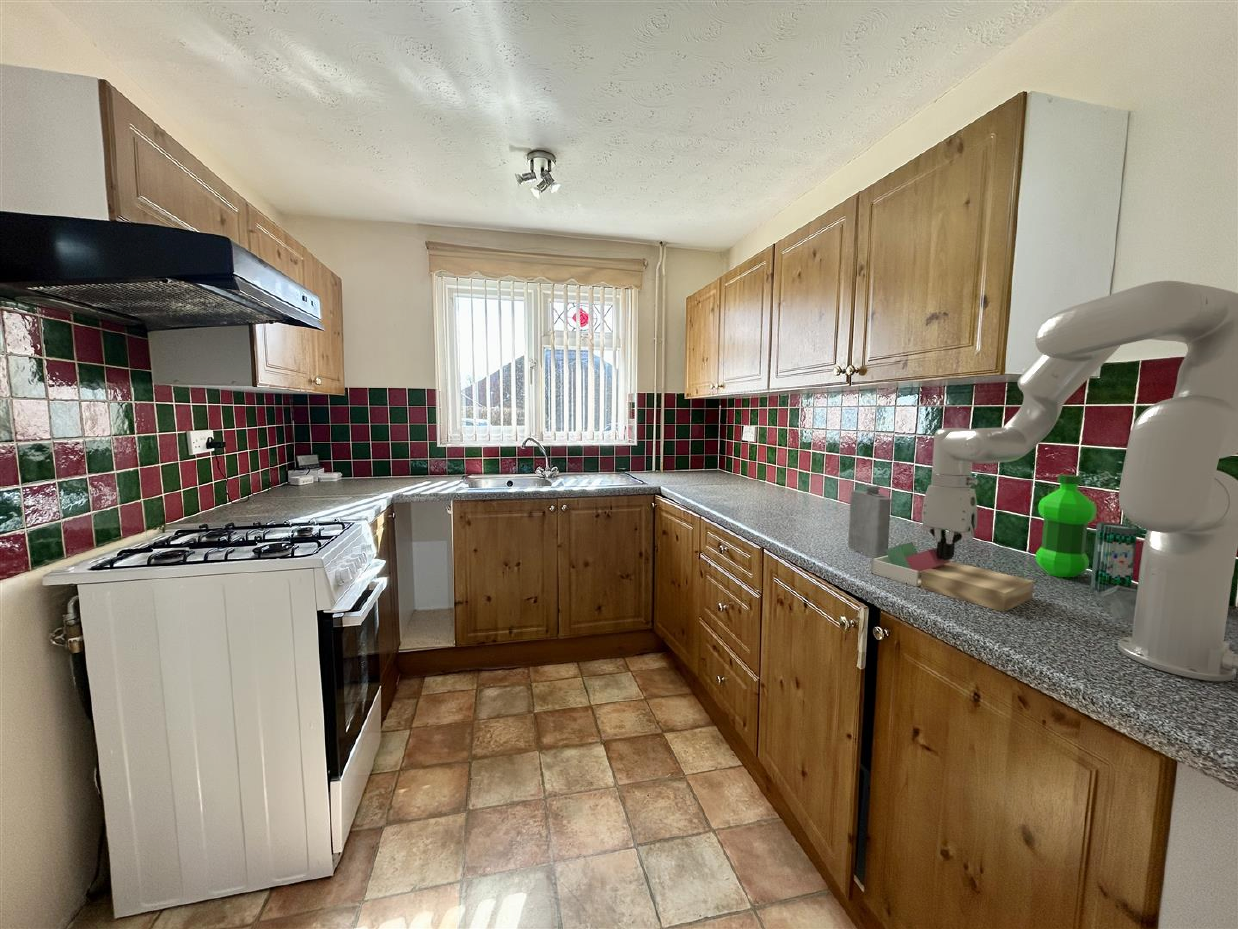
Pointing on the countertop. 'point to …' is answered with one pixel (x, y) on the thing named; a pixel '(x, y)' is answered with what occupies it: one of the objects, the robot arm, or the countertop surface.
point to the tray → (895, 571)
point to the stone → (1120, 602)
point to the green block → (901, 554)
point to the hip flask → (869, 522)
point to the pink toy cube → (925, 560)
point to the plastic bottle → (1065, 529)
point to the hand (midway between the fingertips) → (944, 558)
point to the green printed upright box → (1113, 556)
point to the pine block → (978, 585)
